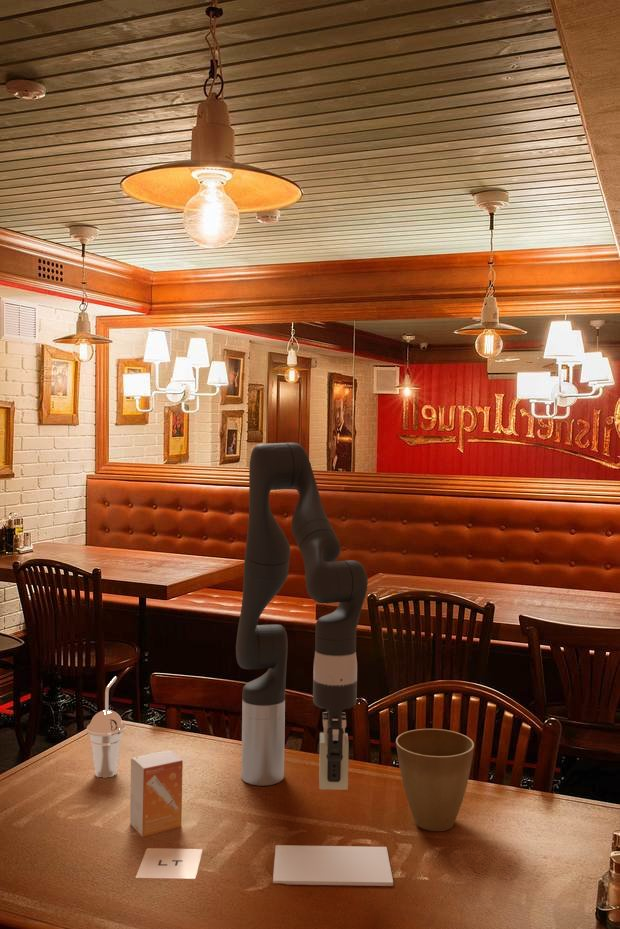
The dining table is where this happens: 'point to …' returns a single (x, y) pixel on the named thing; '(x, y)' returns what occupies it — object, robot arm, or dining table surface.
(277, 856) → the white rectangular board
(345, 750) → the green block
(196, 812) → the dining table surface
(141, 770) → the small box
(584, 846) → the dining table surface
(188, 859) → the tile
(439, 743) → the plant pot
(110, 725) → the cup with straw
